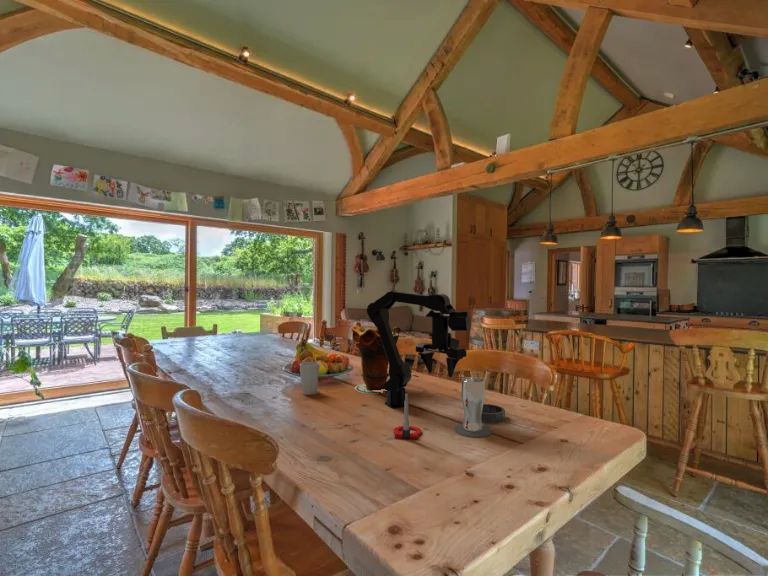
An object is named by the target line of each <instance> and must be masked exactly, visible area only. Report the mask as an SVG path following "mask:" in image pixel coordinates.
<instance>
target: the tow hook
mask: <svg viewBox="0 0 768 576" xmlns="http://www.w3.org/2000/svg"><path fill="white" fill-rule="evenodd" d="M408 399H409V394H408V393H407V392H406V393H405V401H404V406H403V408H404V409H403V411H404V412H403V413H404V414H403V415H404V416H403V417H404V418H403V422H402V423H403V424H402V425H400V426H395V428H393V434H394V439H404V440H418V438H419V436H421V435H422V434H423V433H422V431H423V430H422V429H421V428H419V427H418V426H413V425H410V420H409V400H408ZM411 431H414V432H411Z"/></svg>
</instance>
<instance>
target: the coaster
mask: <svg viewBox="0 0 768 576" xmlns="http://www.w3.org/2000/svg"><path fill="white" fill-rule="evenodd" d="M463 423H464V422H463ZM463 423H459V424H456V425H455V426H454V431H455V432H456V433H457V434H458V435H461V436H464V437H468V438H477V439H479V438H486V437H489V436H491V435H492V434H493V430H492V429H491V427H490V426H488V425H485V424H483V431H481V432H468V431H465V430H464V429H463Z"/></svg>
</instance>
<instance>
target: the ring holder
mask: <svg viewBox="0 0 768 576" xmlns="http://www.w3.org/2000/svg"><path fill="white" fill-rule="evenodd" d="M505 420H506V410H505V408H504V407H502V406H500V405H496V404H492V403H484V406H483V411H482V423H483V424H499V423H503V422H505Z"/></svg>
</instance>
